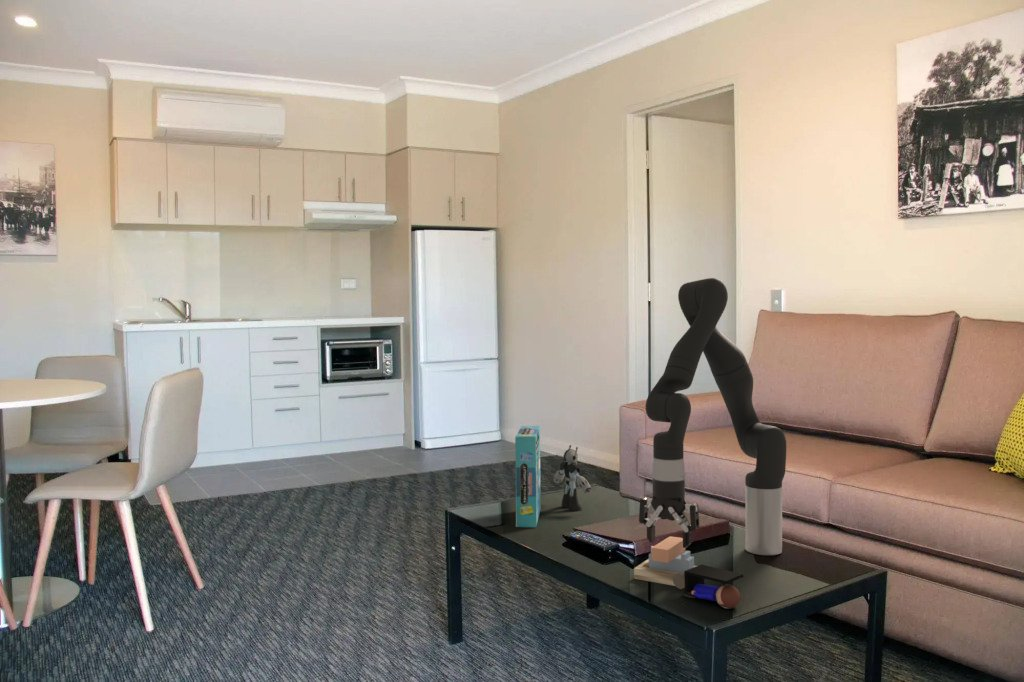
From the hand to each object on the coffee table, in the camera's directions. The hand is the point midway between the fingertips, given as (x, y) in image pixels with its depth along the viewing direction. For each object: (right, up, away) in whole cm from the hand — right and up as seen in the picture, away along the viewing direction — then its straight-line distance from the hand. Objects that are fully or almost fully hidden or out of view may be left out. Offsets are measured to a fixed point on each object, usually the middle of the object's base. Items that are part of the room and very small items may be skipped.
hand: (668, 544), depth 199 cm
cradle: (0, -8, 0) cm, 8 cm away
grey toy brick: (+1, -7, 0) cm, 7 cm away
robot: (-18, -6, +70) cm, 73 cm away
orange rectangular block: (0, -3, 0) cm, 3 cm away
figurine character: (+6, -9, -15) cm, 19 cm away
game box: (-32, -6, +58) cm, 66 cm away
